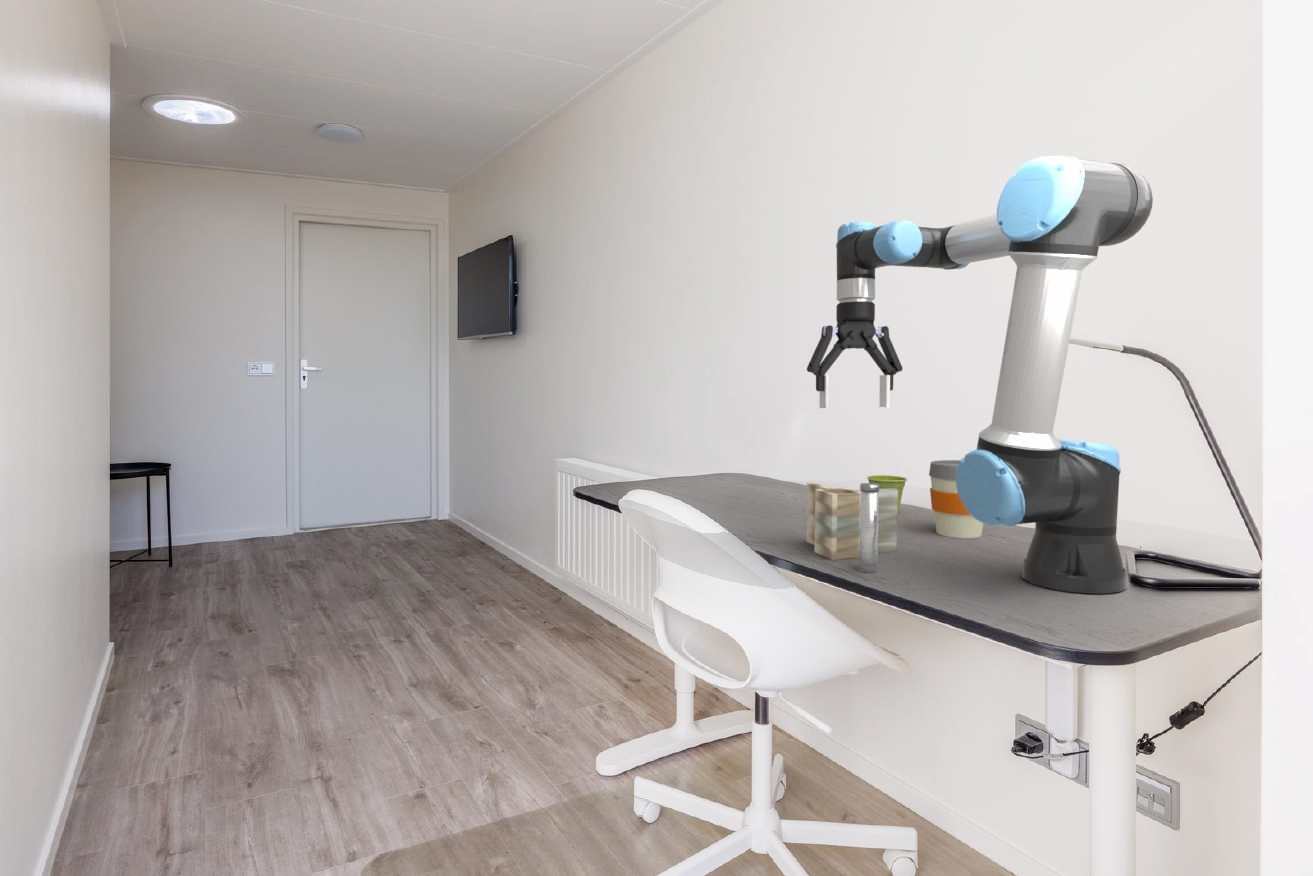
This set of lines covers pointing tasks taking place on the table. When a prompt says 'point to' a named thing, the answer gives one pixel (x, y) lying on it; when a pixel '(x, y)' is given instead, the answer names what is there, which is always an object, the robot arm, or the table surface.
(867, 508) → the hinge pin
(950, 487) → the reusable coffee cup
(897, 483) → the plant pot
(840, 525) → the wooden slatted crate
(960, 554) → the table surface
